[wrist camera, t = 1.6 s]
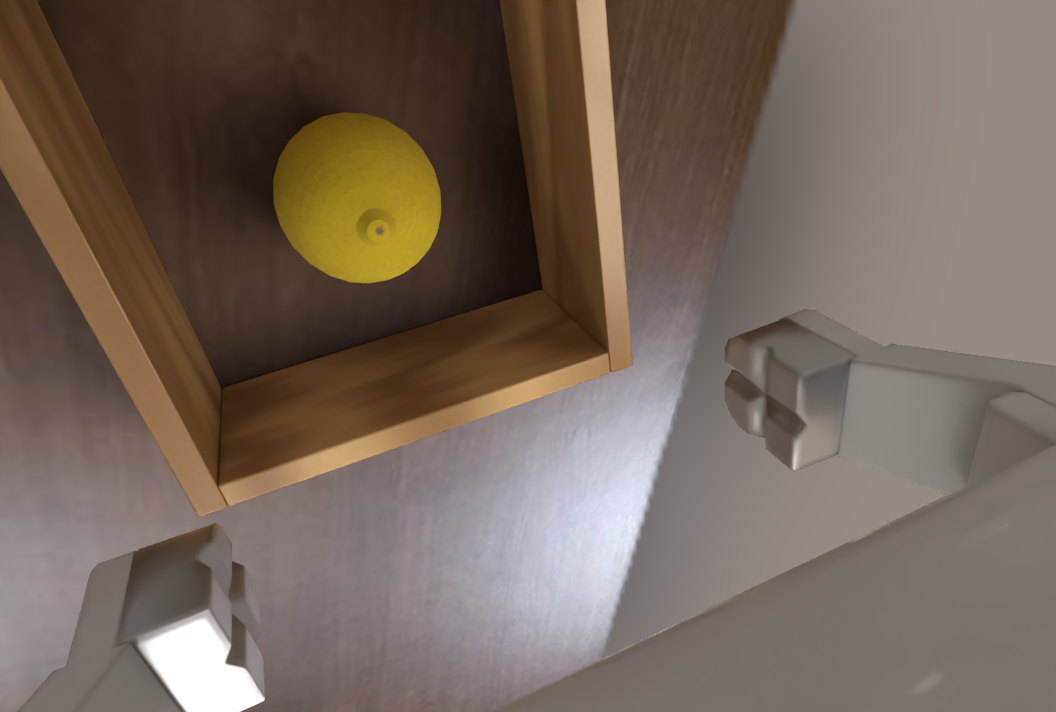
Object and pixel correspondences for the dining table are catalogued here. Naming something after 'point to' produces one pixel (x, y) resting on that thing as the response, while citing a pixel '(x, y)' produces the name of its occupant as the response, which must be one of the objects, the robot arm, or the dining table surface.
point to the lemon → (357, 197)
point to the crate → (363, 371)
